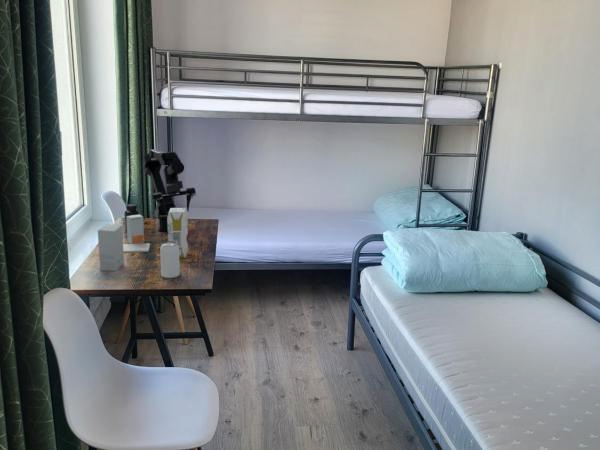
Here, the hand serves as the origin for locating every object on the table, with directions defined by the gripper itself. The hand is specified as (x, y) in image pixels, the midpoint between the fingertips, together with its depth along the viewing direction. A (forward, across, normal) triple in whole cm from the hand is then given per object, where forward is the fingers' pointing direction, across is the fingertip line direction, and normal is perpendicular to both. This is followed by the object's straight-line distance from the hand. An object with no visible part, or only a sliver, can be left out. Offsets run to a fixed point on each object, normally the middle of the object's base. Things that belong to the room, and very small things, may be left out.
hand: (177, 213), depth 224 cm
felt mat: (+13, -19, -8) cm, 25 cm away
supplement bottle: (+2, -22, +21) cm, 30 cm away
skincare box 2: (+10, -19, 0) cm, 22 cm away
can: (+28, -5, -40) cm, 49 cm away
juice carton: (+20, -2, -19) cm, 27 cm away
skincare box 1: (+21, -26, -30) cm, 44 cm away
